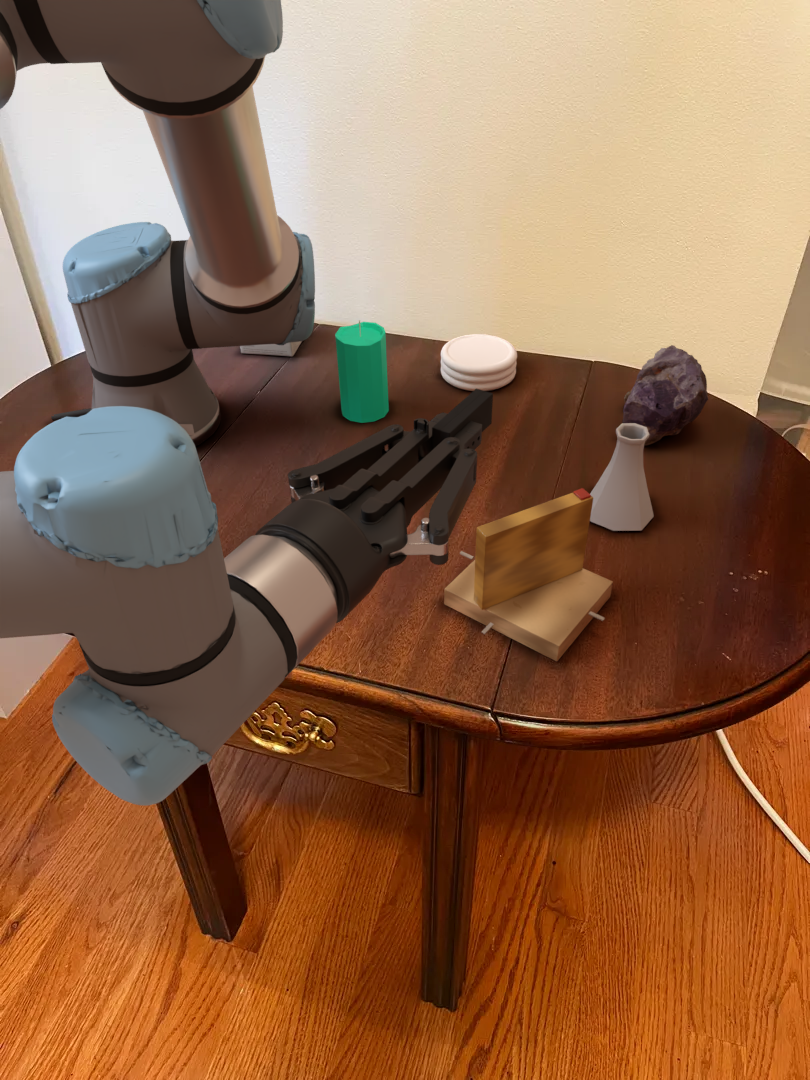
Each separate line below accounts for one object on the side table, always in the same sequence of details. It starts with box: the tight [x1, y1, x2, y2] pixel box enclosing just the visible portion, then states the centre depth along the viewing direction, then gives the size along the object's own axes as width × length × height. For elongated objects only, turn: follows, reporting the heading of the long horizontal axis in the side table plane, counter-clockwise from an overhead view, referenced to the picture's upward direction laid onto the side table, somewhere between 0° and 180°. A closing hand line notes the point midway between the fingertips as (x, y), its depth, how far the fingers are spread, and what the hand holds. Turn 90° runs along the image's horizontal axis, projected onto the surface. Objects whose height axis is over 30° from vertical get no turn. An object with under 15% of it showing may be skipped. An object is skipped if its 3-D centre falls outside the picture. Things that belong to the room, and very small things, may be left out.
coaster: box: [440, 333, 518, 392], centre depth 110 cm, size 10×10×4 cm
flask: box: [589, 423, 655, 532], centre depth 85 cm, size 7×7×10 cm
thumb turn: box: [474, 487, 593, 610], centre depth 74 cm, size 11×2×9 cm, turn 118°
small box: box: [239, 341, 303, 357], centre depth 118 cm, size 8×8×5 cm
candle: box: [334, 319, 390, 424], centre depth 101 cm, size 6×6×12 cm
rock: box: [621, 344, 709, 446], centre depth 98 cm, size 12×9×10 cm
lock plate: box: [443, 550, 614, 662], centre depth 77 cm, size 15×15×2 cm
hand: (483, 406), depth 66 cm, fingers closed
